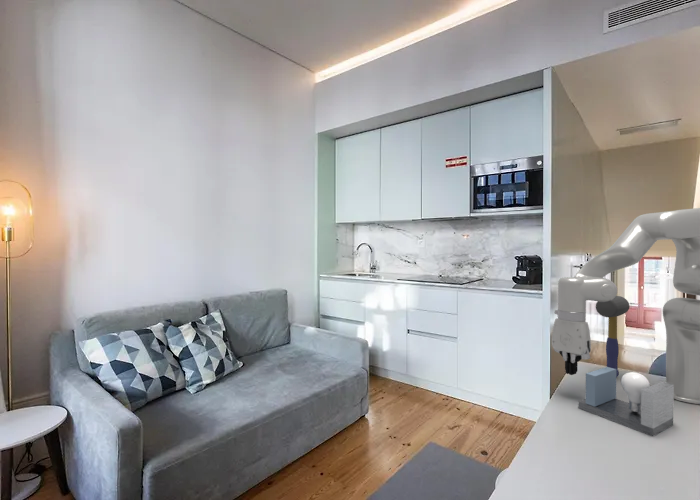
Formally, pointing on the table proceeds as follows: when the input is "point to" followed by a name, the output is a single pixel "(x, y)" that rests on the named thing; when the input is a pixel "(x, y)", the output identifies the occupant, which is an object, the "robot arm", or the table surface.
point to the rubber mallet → (612, 327)
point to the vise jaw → (600, 386)
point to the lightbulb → (634, 389)
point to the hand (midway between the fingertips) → (571, 373)
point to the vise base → (622, 415)
